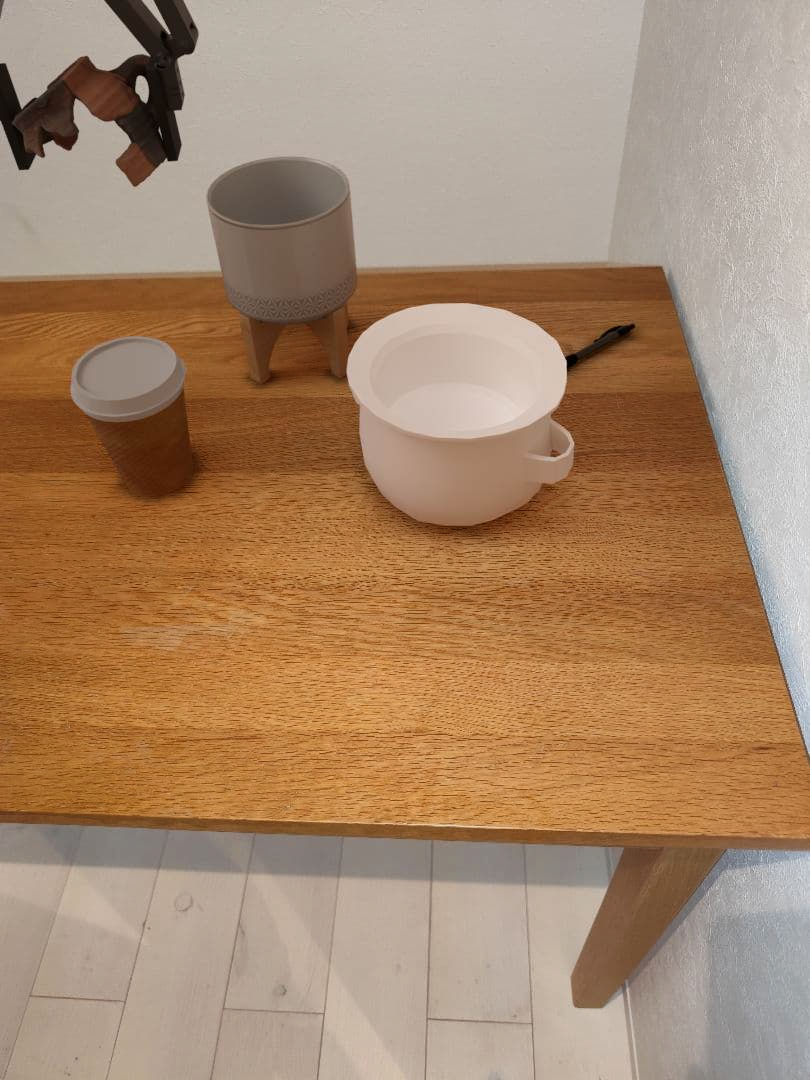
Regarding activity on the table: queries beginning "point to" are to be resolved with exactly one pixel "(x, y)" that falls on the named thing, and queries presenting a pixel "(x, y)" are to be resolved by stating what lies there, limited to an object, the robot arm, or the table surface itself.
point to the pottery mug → (97, 113)
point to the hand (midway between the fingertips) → (101, 157)
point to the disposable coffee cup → (137, 410)
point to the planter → (286, 253)
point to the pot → (459, 411)
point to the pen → (600, 343)
